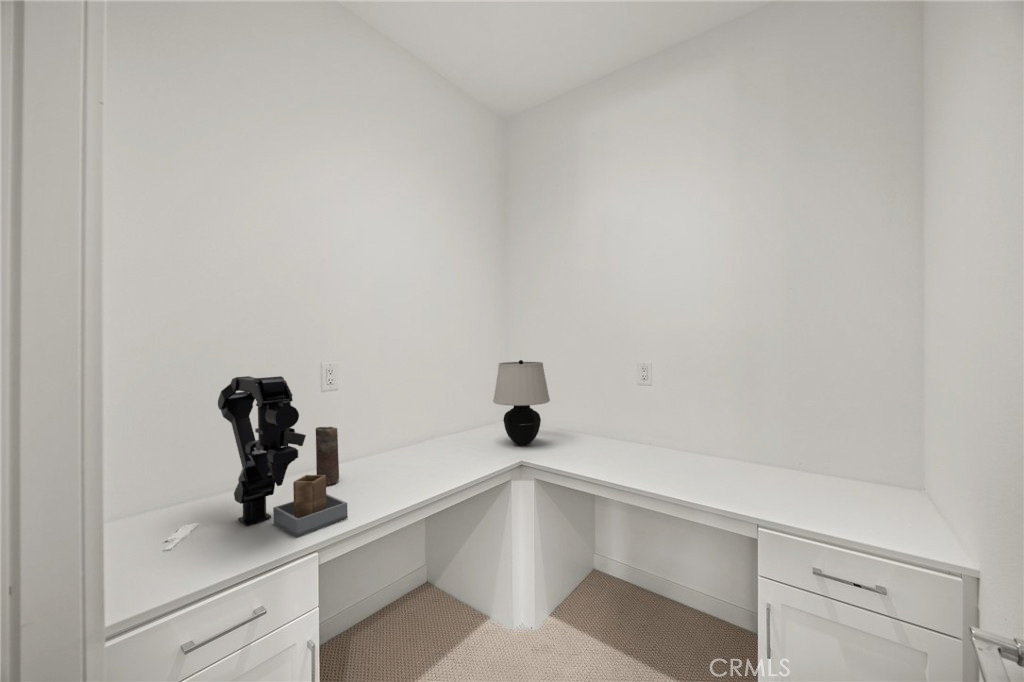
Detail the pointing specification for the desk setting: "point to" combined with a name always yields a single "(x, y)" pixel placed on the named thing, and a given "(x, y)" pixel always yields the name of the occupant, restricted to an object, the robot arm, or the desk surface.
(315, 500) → the walnut crate
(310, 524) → the tray
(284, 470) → the robot arm
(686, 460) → the desk surface
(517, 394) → the table lamp
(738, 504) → the desk surface
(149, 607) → the desk surface
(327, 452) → the candle
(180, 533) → the white angle bracket
